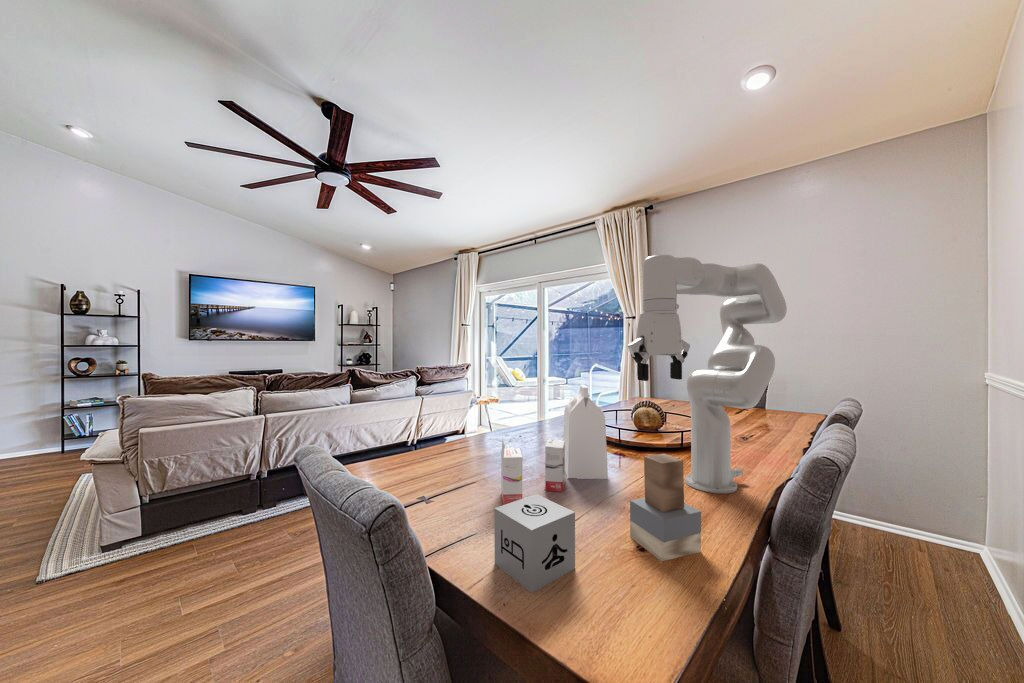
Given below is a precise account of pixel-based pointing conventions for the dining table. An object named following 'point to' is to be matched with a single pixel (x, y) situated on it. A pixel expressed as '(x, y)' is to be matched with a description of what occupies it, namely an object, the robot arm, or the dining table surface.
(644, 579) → the dining table surface
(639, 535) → the tower base
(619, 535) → the dining table surface
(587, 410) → the milk
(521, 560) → the icon cube
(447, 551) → the dining table surface
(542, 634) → the dining table surface
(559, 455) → the ink box
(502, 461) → the ink cartridge box
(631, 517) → the tower top
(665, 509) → the walnut block
